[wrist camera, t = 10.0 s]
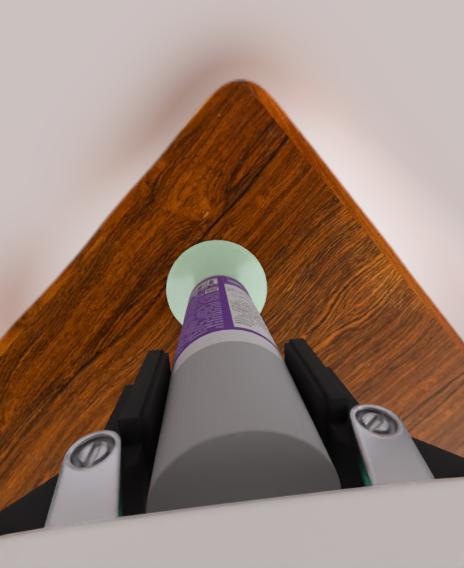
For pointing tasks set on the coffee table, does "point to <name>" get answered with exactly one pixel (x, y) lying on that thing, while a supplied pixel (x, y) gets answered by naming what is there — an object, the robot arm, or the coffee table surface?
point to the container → (233, 412)
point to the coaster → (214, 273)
